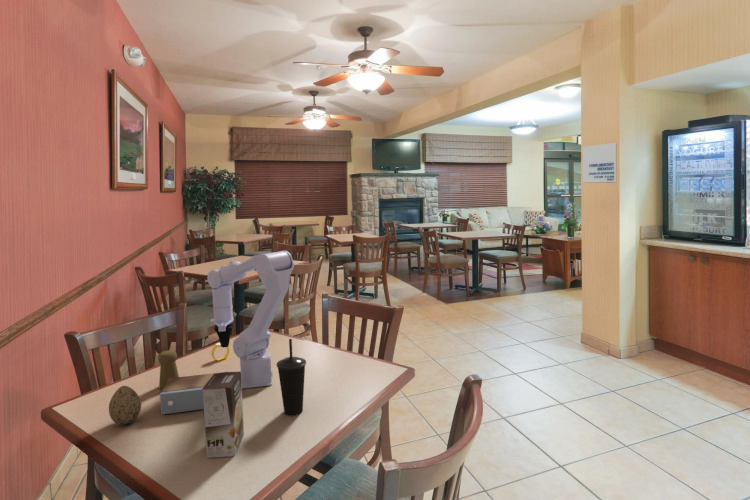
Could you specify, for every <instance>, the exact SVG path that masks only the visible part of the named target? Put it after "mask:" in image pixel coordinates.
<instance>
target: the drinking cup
mask: <svg viewBox="0 0 750 500" xmlns="http://www.w3.org/2000/svg"><path fill="white" fill-rule="evenodd" d="M292 341H293V339H292V338H289V339H288V343H289V344H288V346H289V356H288V357H285V358H282V359H280V360H278V361H277V363H276V367H277V370H278V371H277V372H278V376H279V377H278V379H279V385H280V392H281V397H282V398H281V399H282V405H283V413H284V414H285V415H286V416H288V417H293V416H299V415H301V414H302V413H303V411H304V409H303V408H304V393H305V392H304V391H305V390H304V389H305V373H306V372H305V371H306V369H305V368H306V365H307V360H306V359H305V358H303V357H298V356H293V342H292Z"/></svg>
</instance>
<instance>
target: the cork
mask: <svg viewBox="0 0 750 500" xmlns="http://www.w3.org/2000/svg"><path fill="white" fill-rule="evenodd" d="M177 359H178V354H177V352H176V351H175V350H172V349H171V350H165V351H161V352H160V353H159V354H158V357H157V360H158V362H159V364H160V368H159V385H158V388H159V389H158V390H161V391H162V390H163V388H164V386H165V385H166V383H167V381H168V379H169V378H176V377H180V374H179V372H178V371H179V370H178V366H177V362H176V361H177Z"/></svg>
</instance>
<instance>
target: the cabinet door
mask: <svg viewBox="0 0 750 500" xmlns="http://www.w3.org/2000/svg"><path fill="white" fill-rule="evenodd" d="M202 389H203V387H202V388H194V389H185V390H177V391H168V392H162V391H161V392H160V394H159V396H160V397H159V398H160V408H161V409H160V410H161V415H166V414H167V415H168V414H169V415H170V414H174V413H183V412H189V411H190V412H191V411H192V412H193V411H199V410H204V405H203V390H202Z"/></svg>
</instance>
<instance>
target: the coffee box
mask: <svg viewBox="0 0 750 500" xmlns="http://www.w3.org/2000/svg"><path fill="white" fill-rule="evenodd" d="M213 373H214V375H213V376H212V377H211V379H210V380H209V381H208V382H207V384H206V385H205V386H204V387H203V389H202V390H203V405H204V409H203V416H204V417H203V418H204V433H205V434H204V435H205V449H206V451H205V452H206V458H207V459H211V458H228V457H235V456H236V454H237V451H238V449H239V447H240V445H241V442H242V440H243V438H244V435H245V427H244V423H245V422H244V409H243V408H244V407H243V392H242V391H243V389H242V387H241V371H223V373H221V372H213Z"/></svg>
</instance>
